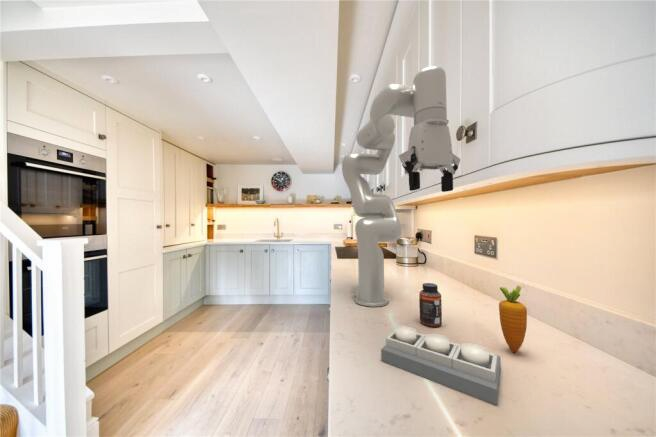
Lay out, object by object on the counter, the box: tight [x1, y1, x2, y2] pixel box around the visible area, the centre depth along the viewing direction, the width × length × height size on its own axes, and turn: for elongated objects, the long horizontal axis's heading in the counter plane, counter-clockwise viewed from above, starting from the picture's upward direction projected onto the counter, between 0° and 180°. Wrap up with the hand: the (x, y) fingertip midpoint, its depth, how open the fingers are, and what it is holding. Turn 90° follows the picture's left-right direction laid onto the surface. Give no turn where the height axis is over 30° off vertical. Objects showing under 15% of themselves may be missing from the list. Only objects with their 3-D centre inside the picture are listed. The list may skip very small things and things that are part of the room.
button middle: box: [425, 333, 450, 355], centre depth 48 cm, size 4×4×2 cm
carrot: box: [498, 285, 528, 354], centre depth 53 cm, size 5×5×15 cm
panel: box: [380, 329, 502, 406], centre depth 48 cm, size 20×12×4 cm, turn 51°
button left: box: [394, 325, 417, 344], centre depth 52 cm, size 4×4×2 cm
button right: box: [460, 342, 490, 367], centre depth 44 cm, size 4×4×2 cm
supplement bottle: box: [418, 282, 443, 328], centre depth 68 cm, size 6×6×11 cm
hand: (431, 190), depth 58 cm, fingers open, 9 cm apart
